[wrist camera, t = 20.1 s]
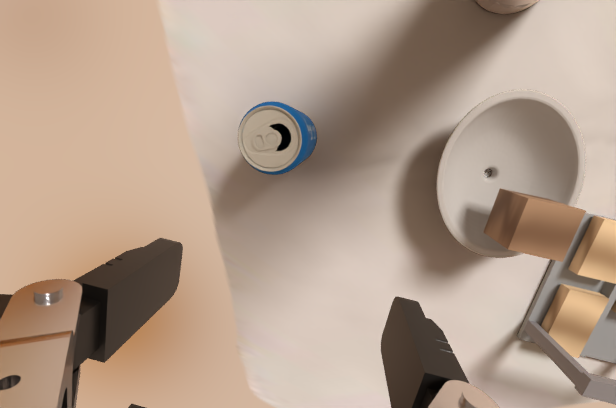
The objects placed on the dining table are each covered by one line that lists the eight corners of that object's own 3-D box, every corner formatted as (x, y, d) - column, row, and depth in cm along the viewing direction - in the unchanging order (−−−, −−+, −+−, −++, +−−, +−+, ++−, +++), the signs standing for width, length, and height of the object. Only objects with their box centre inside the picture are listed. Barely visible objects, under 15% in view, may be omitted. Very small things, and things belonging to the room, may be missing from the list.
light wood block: (593, 215, 35) (604, 219, 34) (634, 224, 35) (647, 228, 33) (568, 269, 37) (577, 274, 35) (606, 278, 37) (617, 284, 35)
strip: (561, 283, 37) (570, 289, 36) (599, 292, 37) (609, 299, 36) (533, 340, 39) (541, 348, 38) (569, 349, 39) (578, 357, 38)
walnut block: (499, 188, 32) (528, 198, 27) (548, 198, 31) (586, 211, 26) (483, 232, 33) (507, 249, 28) (529, 242, 33) (562, 262, 28)
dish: (539, 243, 37) (568, 260, 33) (419, 240, 39) (430, 256, 34) (565, 93, 33) (603, 86, 28) (430, 97, 35) (444, 91, 30)
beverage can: (322, 156, 38) (314, 167, 26) (273, 168, 39) (244, 183, 27) (310, 104, 36) (296, 91, 25) (260, 117, 37) (223, 110, 26)
